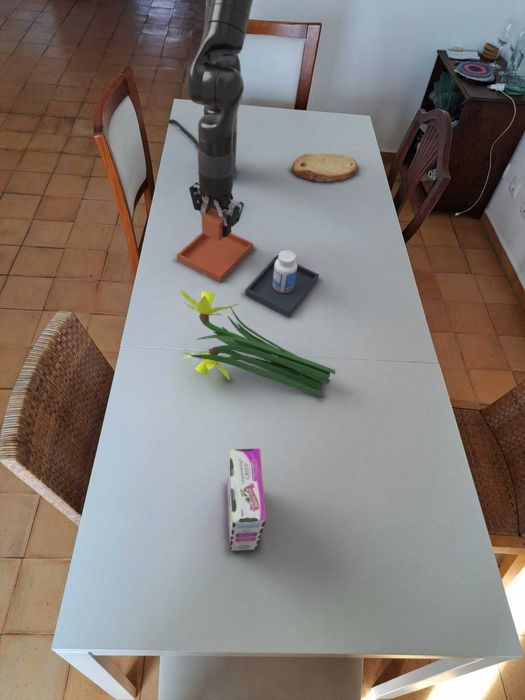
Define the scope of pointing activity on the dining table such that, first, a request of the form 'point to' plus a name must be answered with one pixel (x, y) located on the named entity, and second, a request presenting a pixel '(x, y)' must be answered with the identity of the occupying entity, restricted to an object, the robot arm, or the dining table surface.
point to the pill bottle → (285, 272)
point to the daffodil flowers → (255, 353)
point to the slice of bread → (324, 167)
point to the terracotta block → (212, 224)
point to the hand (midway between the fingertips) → (216, 230)
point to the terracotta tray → (215, 255)
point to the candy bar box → (245, 499)
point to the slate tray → (276, 300)
